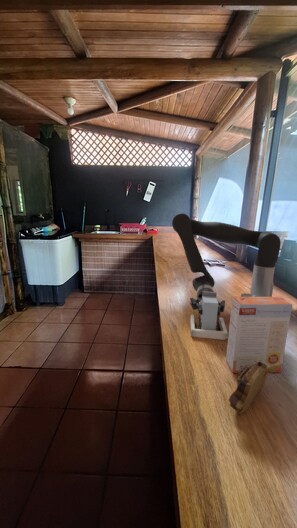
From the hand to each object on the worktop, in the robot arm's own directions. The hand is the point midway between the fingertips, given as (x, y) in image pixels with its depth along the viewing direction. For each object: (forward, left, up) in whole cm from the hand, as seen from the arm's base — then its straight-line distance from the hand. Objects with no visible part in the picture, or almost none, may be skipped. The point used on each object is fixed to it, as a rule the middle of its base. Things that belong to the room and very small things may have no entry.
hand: (209, 313), depth 84 cm
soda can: (-15, -9, -8) cm, 19 cm away
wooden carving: (-6, +31, -8) cm, 32 cm away
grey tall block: (0, -3, -6) cm, 7 cm away
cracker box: (-11, +17, -8) cm, 22 cm away
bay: (0, -2, -8) cm, 8 cm away
